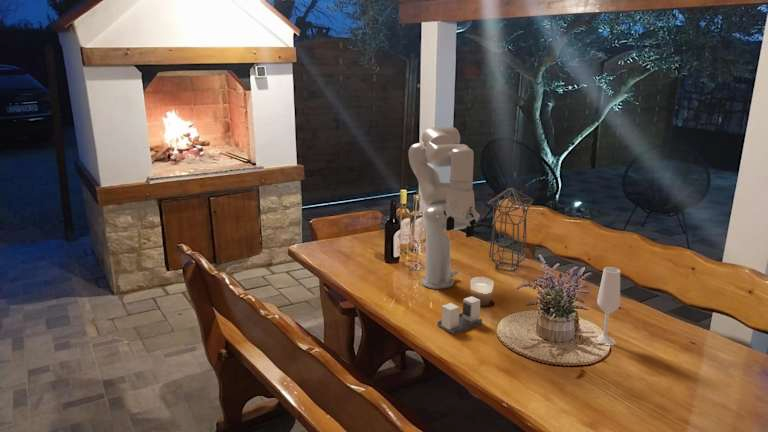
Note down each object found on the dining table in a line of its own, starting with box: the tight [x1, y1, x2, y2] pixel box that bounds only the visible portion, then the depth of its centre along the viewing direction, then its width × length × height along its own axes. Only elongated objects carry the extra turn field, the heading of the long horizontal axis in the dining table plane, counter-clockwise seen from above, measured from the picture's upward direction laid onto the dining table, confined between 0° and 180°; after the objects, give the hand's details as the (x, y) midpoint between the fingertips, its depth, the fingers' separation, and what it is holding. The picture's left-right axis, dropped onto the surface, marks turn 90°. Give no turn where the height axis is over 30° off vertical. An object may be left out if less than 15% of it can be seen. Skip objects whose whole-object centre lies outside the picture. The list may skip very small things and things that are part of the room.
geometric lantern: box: [486, 187, 535, 272], centre depth 243 cm, size 16×16×35 cm
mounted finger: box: [441, 302, 460, 330], centre depth 192 cm, size 5×4×7 cm
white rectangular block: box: [462, 296, 481, 322], centre depth 197 cm, size 5×4×7 cm
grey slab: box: [437, 312, 483, 336], centre depth 195 cm, size 13×8×2 cm, turn 127°
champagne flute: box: [596, 266, 621, 347], centre depth 181 cm, size 7×7×24 cm
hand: (459, 233), depth 200 cm, fingers open, 9 cm apart
